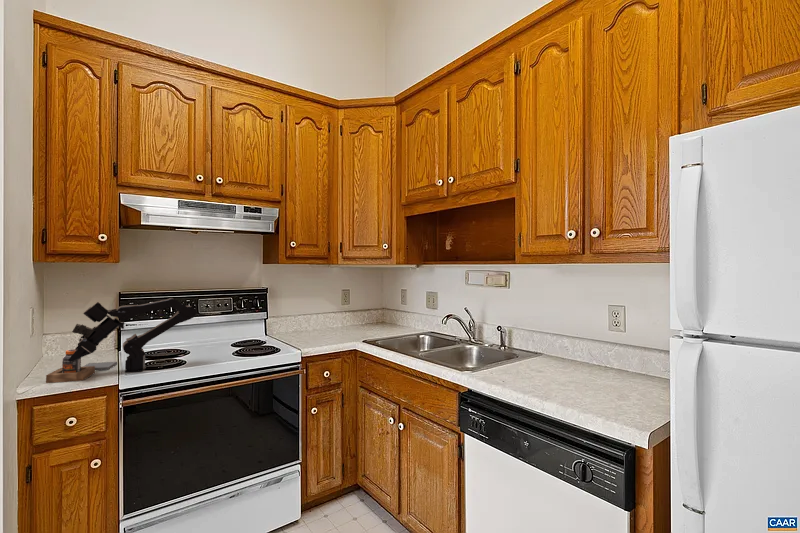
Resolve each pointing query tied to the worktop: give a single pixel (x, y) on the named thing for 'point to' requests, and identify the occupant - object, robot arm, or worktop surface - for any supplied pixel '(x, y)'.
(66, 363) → the pill bottle
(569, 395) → the worktop surface
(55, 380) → the bottle holder
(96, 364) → the rubber mat
